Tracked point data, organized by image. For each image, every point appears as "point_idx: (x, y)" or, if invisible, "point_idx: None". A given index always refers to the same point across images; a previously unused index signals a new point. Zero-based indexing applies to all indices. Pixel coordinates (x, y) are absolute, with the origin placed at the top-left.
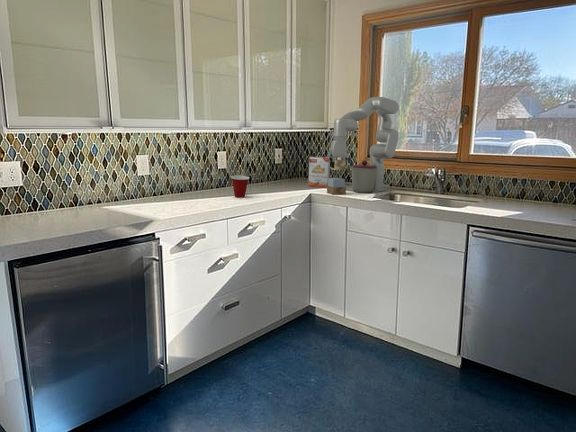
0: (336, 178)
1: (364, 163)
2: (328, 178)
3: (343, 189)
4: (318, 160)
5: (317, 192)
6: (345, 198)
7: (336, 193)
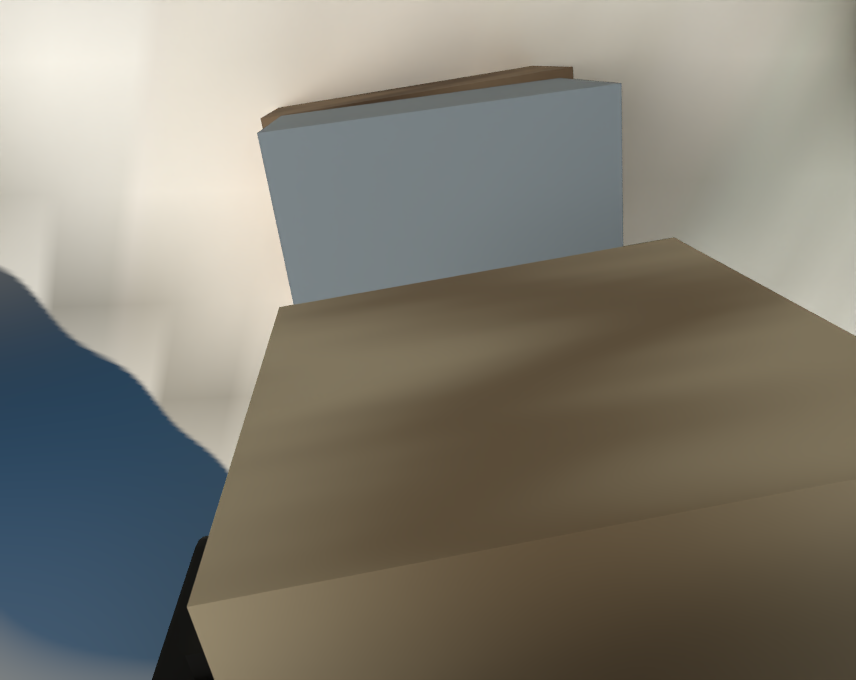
0: (463, 251)
1: None
2: (259, 136)
3: None
4: None
5: (94, 53)
6: None
7: None
